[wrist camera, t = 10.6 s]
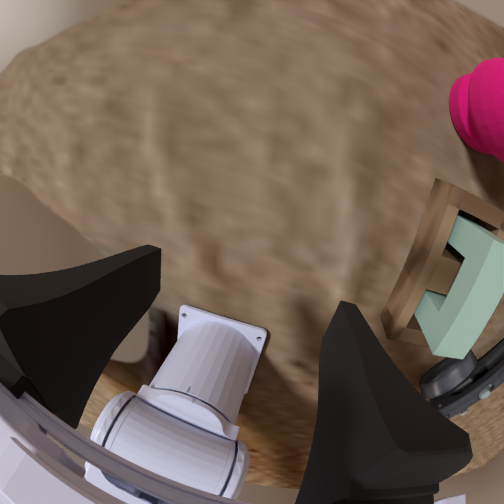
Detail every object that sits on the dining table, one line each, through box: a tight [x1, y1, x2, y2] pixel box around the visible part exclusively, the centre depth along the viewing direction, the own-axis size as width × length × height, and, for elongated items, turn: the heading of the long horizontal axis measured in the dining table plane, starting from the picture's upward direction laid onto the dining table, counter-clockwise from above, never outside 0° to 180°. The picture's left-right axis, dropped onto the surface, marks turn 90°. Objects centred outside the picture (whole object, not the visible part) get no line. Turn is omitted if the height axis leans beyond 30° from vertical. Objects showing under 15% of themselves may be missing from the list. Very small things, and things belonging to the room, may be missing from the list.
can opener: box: [420, 340, 504, 419], centre depth 18 cm, size 18×7×6 cm, turn 124°
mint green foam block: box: [414, 214, 504, 359], centre depth 15 cm, size 8×3×7 cm, turn 168°
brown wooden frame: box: [380, 178, 504, 347], centre depth 17 cm, size 12×6×3 cm, turn 168°
